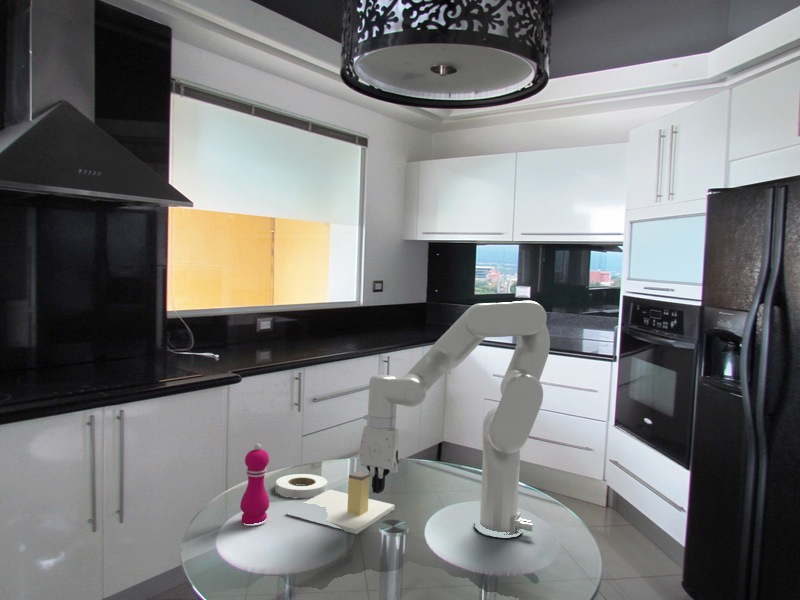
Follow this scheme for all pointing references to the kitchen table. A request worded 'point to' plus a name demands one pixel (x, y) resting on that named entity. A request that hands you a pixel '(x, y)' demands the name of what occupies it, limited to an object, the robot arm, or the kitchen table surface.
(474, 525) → the kitchen table surface
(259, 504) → the pepper mill
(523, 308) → the robot arm
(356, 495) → the block
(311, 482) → the object
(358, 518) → the board
